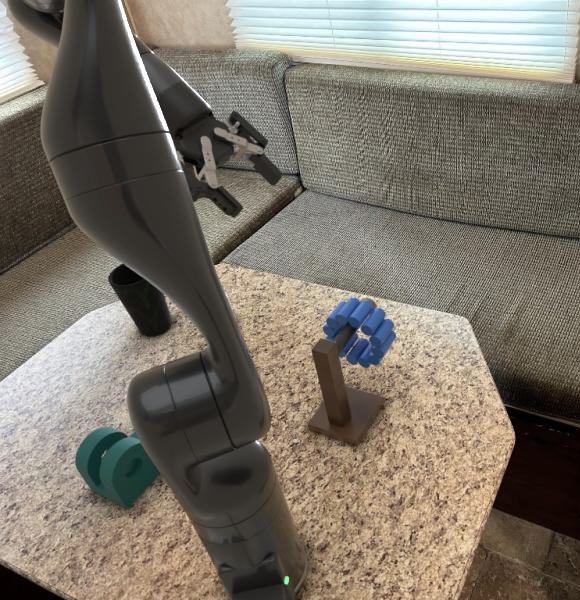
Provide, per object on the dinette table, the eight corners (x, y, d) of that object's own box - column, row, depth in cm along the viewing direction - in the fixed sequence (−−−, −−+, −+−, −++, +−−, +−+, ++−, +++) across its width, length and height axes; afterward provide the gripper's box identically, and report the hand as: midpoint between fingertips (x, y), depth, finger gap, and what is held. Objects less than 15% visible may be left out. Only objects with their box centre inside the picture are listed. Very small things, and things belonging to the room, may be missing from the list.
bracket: (127, 509, 79) (104, 473, 74) (91, 491, 82) (66, 455, 77) (217, 410, 91) (202, 373, 86) (183, 397, 94) (166, 361, 89)
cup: (148, 311, 112) (124, 257, 104) (185, 313, 110) (163, 259, 102) (125, 339, 106) (98, 284, 98) (164, 342, 104) (140, 287, 97)
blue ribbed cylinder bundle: (387, 373, 85) (377, 322, 79) (330, 359, 89) (316, 309, 83) (400, 354, 88) (390, 303, 82) (344, 342, 92) (331, 292, 86)
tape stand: (357, 446, 84) (341, 366, 74) (308, 429, 87) (286, 351, 77) (401, 375, 93) (392, 296, 84) (356, 362, 96) (342, 285, 87)
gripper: (128, 104, 67) (237, 209, 70) (210, 61, 77) (302, 155, 80) (112, 143, 73) (213, 240, 75) (190, 99, 82) (278, 186, 85)
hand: (259, 196), depth 78 cm, fingers open, 8 cm apart
